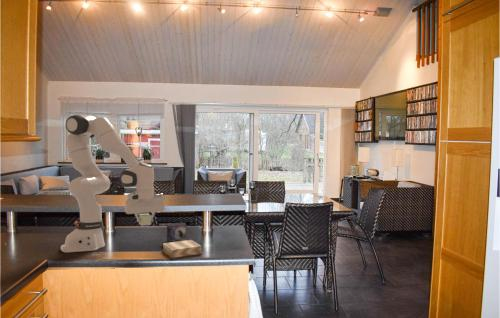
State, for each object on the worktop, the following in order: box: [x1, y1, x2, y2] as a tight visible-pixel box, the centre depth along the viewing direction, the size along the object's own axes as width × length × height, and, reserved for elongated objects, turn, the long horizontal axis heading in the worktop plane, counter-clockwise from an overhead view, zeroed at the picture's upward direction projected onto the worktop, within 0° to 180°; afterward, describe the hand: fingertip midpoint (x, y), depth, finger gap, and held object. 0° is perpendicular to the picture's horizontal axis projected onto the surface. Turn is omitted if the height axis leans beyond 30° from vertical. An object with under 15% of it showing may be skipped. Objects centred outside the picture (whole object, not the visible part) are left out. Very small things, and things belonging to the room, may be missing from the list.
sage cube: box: [138, 212, 152, 227], centre depth 220 cm, size 5×5×5 cm
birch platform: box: [162, 239, 202, 259], centre depth 222 cm, size 16×14×4 cm
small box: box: [166, 222, 187, 243], centre depth 241 cm, size 11×6×10 cm, turn 105°
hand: (144, 221), depth 220 cm, fingers closed on sage cube, 5 cm apart
